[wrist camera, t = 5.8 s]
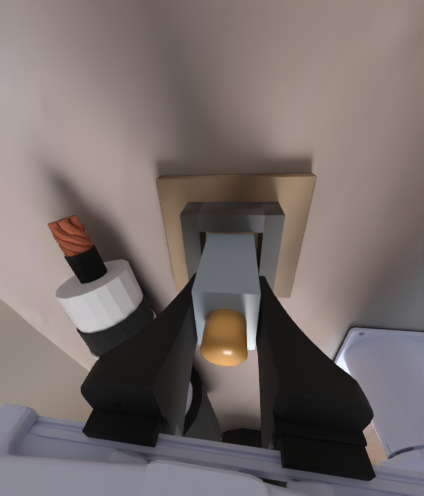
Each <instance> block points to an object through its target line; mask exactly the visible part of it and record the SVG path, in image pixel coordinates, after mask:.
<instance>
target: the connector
mask: <svg viewBox="0 0 424 496" xmlns="http://www.w3.org/2000/svg"><path fill="white" fill-rule="evenodd" d="M192 298H193V306H194V314H195V321H196V329H197V336H198V344H199V345H201V348H200V352H201V354H202V356H203V357H204V358H205V359H206V360H208V361H209V362H211V363H214V364H217V365H221V366H234V365H238V364H241V363H242V362H244V361H245V360H246V359H247V356H248V352H247V349H248V350H255V341H256V332H257V324H258V315H259V306H260V298H261V292H260V284H259V275H258V267H257V259H256V250H255V242H254V234H208V236H207V240H206V243H205V247H204V250H203V254H202V257H201V260H200V264H199V267H198V271H197V274H196V278H195V281H194V284H193V288H192Z"/></svg>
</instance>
